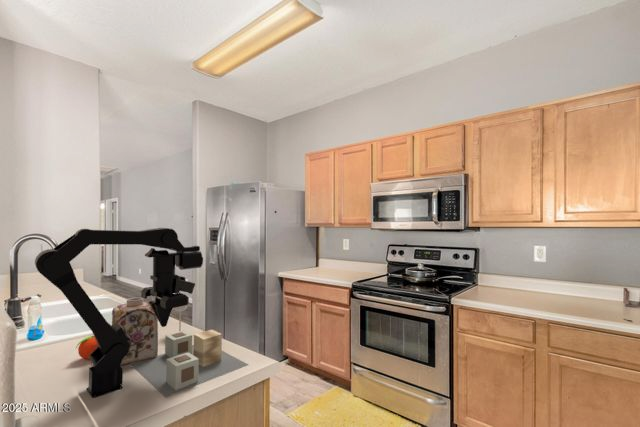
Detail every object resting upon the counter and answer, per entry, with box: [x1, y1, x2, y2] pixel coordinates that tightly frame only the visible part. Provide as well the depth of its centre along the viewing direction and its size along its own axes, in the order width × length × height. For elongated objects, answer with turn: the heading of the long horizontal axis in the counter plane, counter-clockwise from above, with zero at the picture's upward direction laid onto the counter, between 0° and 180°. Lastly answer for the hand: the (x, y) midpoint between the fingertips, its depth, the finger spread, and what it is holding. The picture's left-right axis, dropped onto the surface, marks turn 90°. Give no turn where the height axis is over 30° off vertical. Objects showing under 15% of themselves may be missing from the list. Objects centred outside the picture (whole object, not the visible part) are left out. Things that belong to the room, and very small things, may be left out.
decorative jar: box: [111, 296, 159, 366], centre depth 102 cm, size 12×12×18 cm
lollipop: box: [172, 304, 190, 332], centre depth 120 cm, size 6×6×15 cm
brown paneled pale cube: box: [164, 330, 193, 358], centre depth 103 cm, size 6×6×6 cm
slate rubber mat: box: [129, 344, 249, 398], centre depth 96 cm, size 24×26×1 cm
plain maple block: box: [193, 329, 223, 367], centre depth 98 cm, size 6×6×8 cm
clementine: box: [75, 335, 98, 361], centre depth 99 cm, size 8×7×7 cm
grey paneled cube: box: [166, 352, 199, 390], centre depth 85 cm, size 6×6×6 cm
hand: (163, 326), depth 92 cm, fingers closed
